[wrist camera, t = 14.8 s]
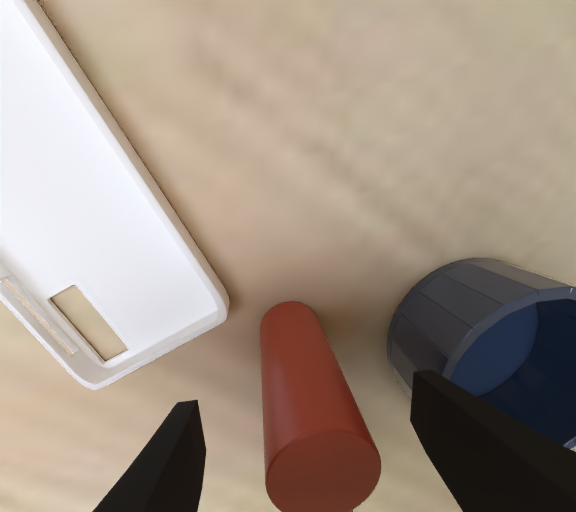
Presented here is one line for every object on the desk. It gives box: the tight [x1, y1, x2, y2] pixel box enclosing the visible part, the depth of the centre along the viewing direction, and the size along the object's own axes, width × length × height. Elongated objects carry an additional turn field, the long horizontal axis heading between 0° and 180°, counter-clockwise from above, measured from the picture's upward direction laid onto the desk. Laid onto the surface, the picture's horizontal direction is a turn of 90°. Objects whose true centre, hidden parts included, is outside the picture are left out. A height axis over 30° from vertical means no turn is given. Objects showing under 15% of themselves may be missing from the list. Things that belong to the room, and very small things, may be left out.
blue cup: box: [387, 258, 576, 449], centre depth 14 cm, size 9×9×4 cm
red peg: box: [260, 302, 381, 512], centre depth 11 cm, size 3×3×8 cm
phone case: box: [0, 0, 230, 390], centre depth 11 cm, size 7×1×15 cm
